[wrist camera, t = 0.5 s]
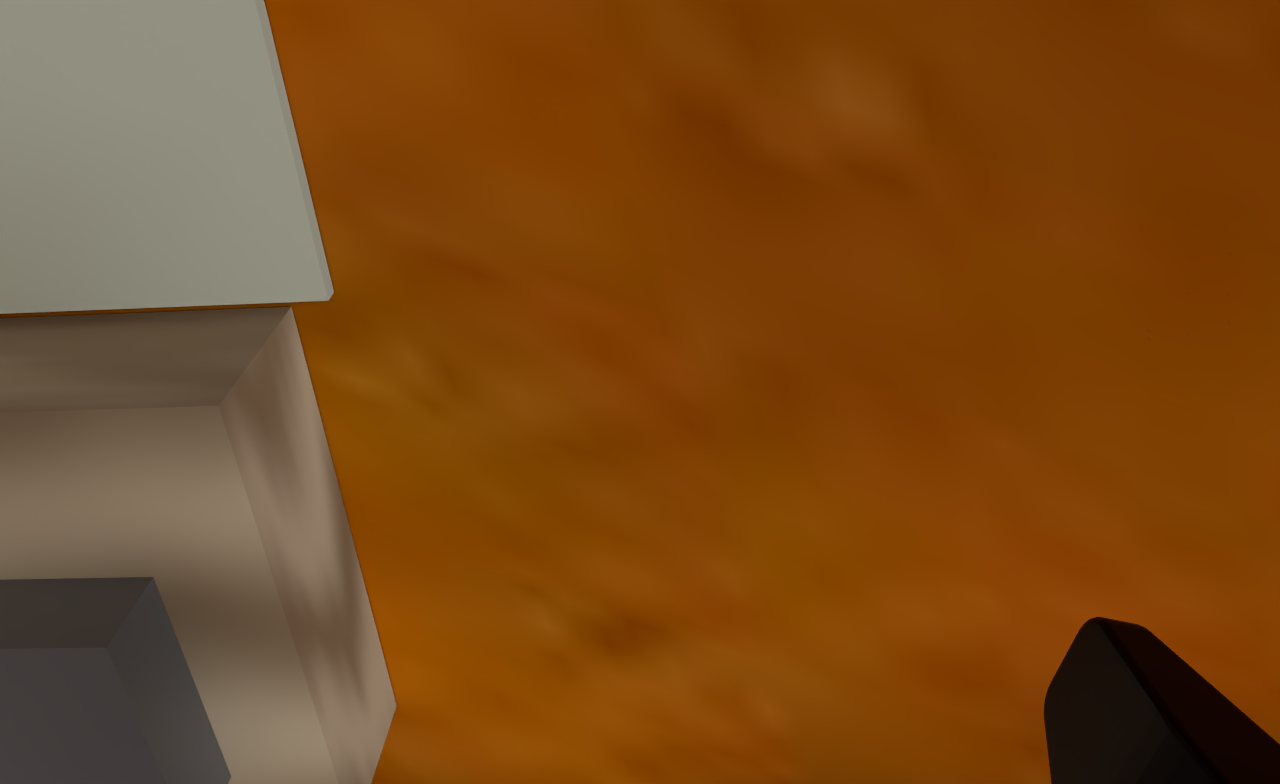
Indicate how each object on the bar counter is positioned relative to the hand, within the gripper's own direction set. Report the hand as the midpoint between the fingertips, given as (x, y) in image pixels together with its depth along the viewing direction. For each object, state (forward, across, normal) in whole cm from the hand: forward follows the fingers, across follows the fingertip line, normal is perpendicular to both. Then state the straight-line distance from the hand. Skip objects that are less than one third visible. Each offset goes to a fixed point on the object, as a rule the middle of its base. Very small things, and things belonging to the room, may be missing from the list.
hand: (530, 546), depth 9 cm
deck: (+14, +12, +14) cm, 23 cm away
